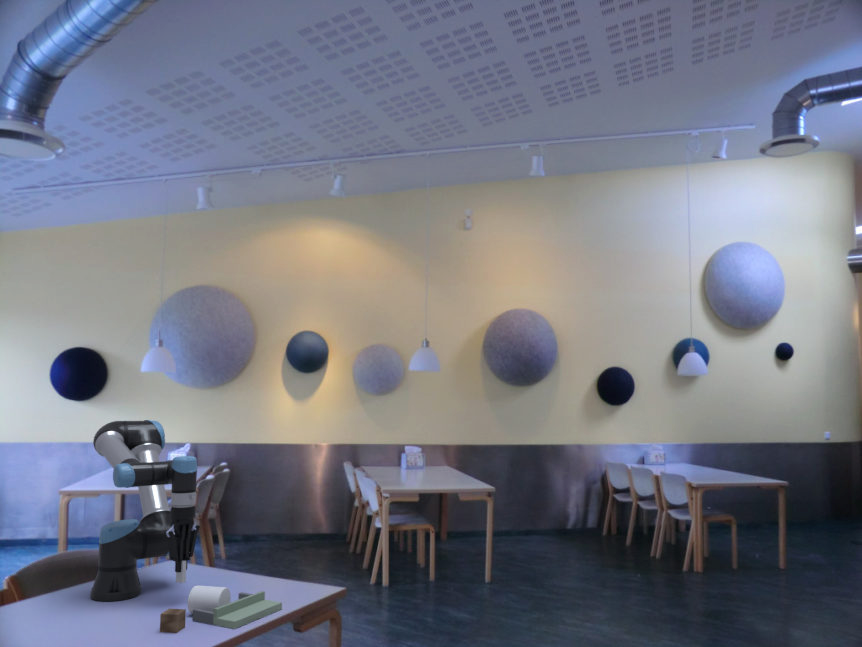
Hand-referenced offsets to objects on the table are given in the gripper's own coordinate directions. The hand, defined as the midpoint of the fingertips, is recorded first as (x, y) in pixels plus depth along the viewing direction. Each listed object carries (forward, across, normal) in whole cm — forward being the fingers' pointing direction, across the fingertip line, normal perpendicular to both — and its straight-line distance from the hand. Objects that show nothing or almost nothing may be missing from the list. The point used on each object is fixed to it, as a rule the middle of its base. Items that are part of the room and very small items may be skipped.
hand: (180, 582), depth 228 cm
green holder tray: (+7, 0, -24) cm, 25 cm away
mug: (+7, -1, -15) cm, 16 cm away
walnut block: (+7, -19, -16) cm, 26 cm away
